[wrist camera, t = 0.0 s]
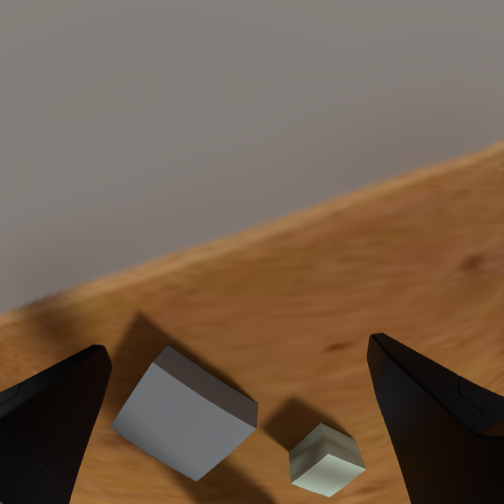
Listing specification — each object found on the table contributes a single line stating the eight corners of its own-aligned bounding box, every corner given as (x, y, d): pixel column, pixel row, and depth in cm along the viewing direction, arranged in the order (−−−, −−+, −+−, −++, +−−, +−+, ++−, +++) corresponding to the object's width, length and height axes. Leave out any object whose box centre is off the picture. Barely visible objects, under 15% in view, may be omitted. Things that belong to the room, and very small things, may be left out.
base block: (203, 457, 26) (196, 481, 22) (125, 407, 26) (109, 426, 22) (258, 403, 25) (256, 428, 21) (168, 344, 25) (152, 362, 21)
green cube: (323, 466, 26) (329, 497, 21) (288, 451, 26) (290, 483, 21) (354, 439, 25) (366, 469, 20) (320, 422, 25) (328, 453, 20)
